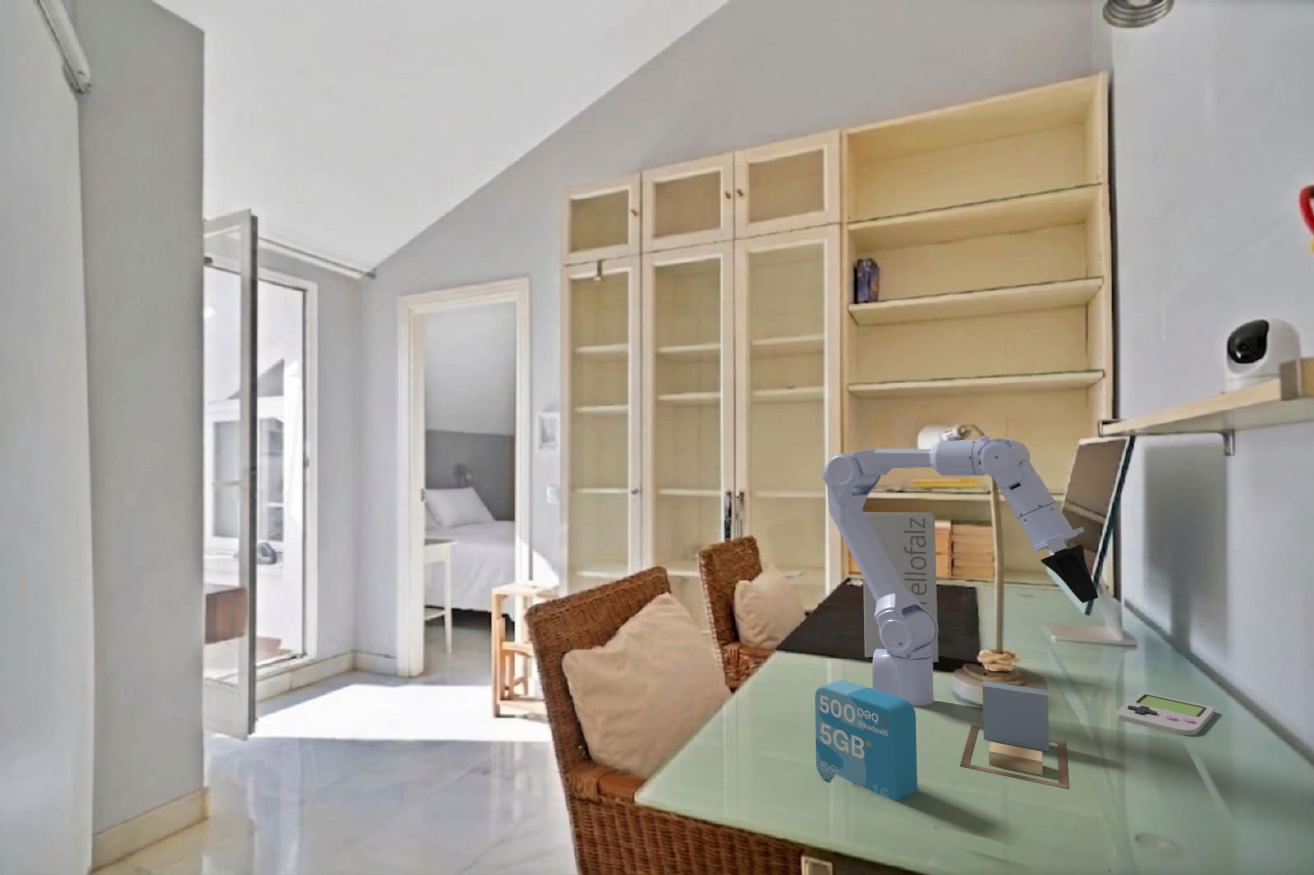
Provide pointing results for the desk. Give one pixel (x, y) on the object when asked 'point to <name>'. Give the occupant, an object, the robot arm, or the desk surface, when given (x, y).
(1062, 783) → the walnut frame
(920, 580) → the grey lettered box
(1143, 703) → the handheld gaming console
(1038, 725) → the slate sheet
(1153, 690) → the desk surface
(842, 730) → the data package
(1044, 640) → the desk surface
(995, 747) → the upper offcut
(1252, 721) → the desk surface
